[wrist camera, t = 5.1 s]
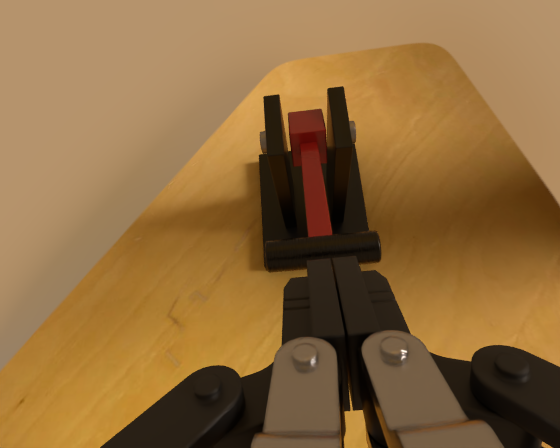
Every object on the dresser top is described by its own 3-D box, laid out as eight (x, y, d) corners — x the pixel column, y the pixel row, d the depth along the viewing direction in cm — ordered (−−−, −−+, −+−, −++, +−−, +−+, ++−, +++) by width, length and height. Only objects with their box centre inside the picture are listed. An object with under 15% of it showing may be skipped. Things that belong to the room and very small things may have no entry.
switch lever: (379, 276, 17) (383, 239, 16) (270, 285, 18) (262, 250, 16) (343, 138, 26) (343, 105, 24) (271, 146, 26) (266, 114, 25)
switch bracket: (371, 261, 32) (399, 194, 20) (266, 270, 33) (234, 211, 21) (353, 150, 36) (368, 41, 24) (260, 161, 37) (231, 60, 25)
